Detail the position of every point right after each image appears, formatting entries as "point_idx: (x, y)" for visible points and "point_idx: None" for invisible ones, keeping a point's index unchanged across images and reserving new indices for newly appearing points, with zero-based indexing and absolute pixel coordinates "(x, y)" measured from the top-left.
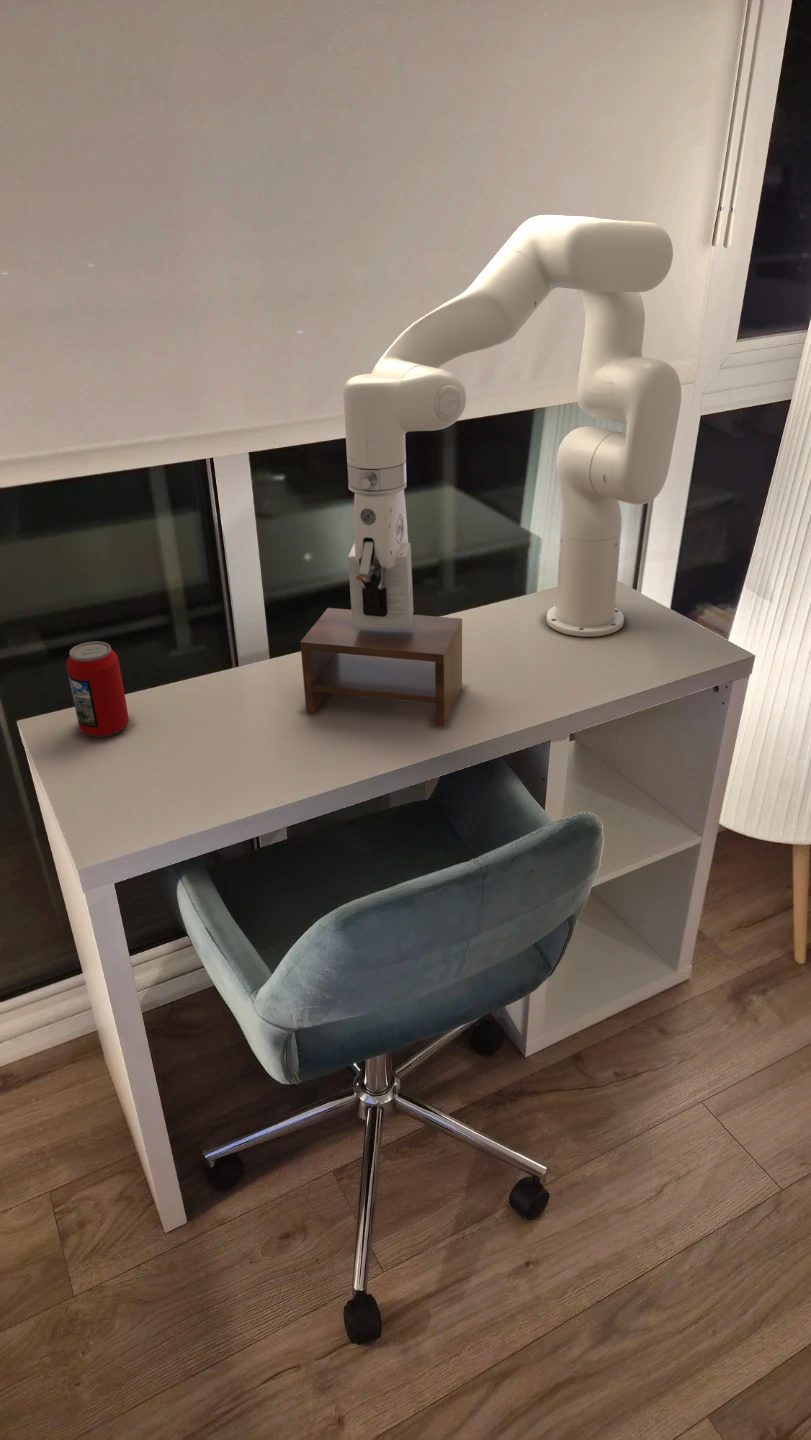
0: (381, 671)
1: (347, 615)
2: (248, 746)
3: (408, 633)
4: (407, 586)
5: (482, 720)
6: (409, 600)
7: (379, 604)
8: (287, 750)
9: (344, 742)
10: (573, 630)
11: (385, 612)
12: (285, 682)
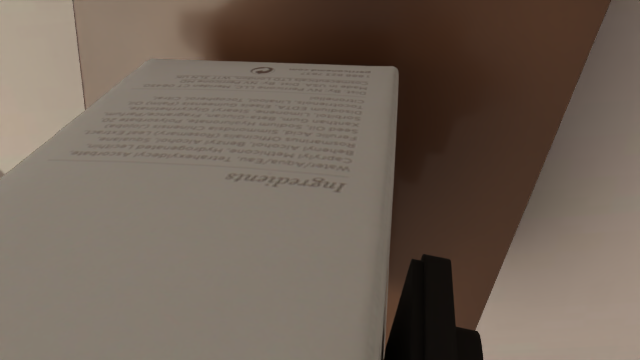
0: None
1: None
2: (589, 352)
3: (330, 56)
4: (381, 263)
5: None
6: (344, 150)
7: (460, 357)
8: (629, 281)
9: (614, 154)
10: None
11: (449, 276)
12: None
